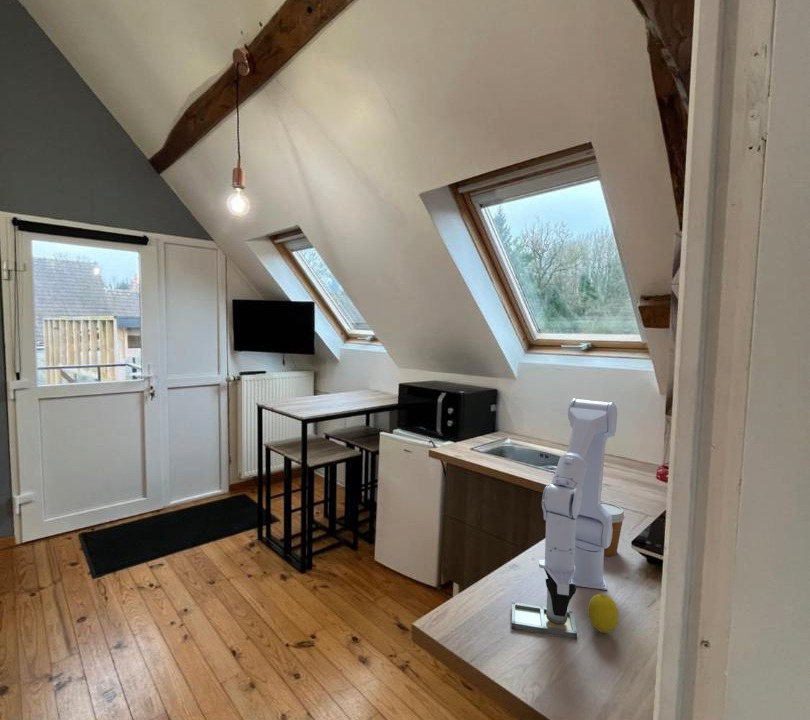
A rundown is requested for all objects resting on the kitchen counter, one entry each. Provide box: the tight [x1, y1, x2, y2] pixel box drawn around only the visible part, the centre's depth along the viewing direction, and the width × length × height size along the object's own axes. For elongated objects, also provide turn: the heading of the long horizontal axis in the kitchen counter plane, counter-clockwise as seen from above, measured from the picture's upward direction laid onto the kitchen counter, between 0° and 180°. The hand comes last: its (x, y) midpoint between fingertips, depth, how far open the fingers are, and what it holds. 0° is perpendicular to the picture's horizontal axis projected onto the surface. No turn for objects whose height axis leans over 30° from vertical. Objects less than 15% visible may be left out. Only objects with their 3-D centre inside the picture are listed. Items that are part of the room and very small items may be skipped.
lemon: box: [587, 593, 619, 634], centre depth 87 cm, size 6×6×8 cm
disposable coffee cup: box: [600, 501, 626, 557], centre depth 119 cm, size 10×10×12 cm
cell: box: [546, 588, 568, 625], centre depth 89 cm, size 4×4×7 cm
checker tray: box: [511, 602, 578, 640], centre depth 90 cm, size 7×12×1 cm, turn 76°
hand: (558, 607), depth 89 cm, fingers closed on cell, 4 cm apart
